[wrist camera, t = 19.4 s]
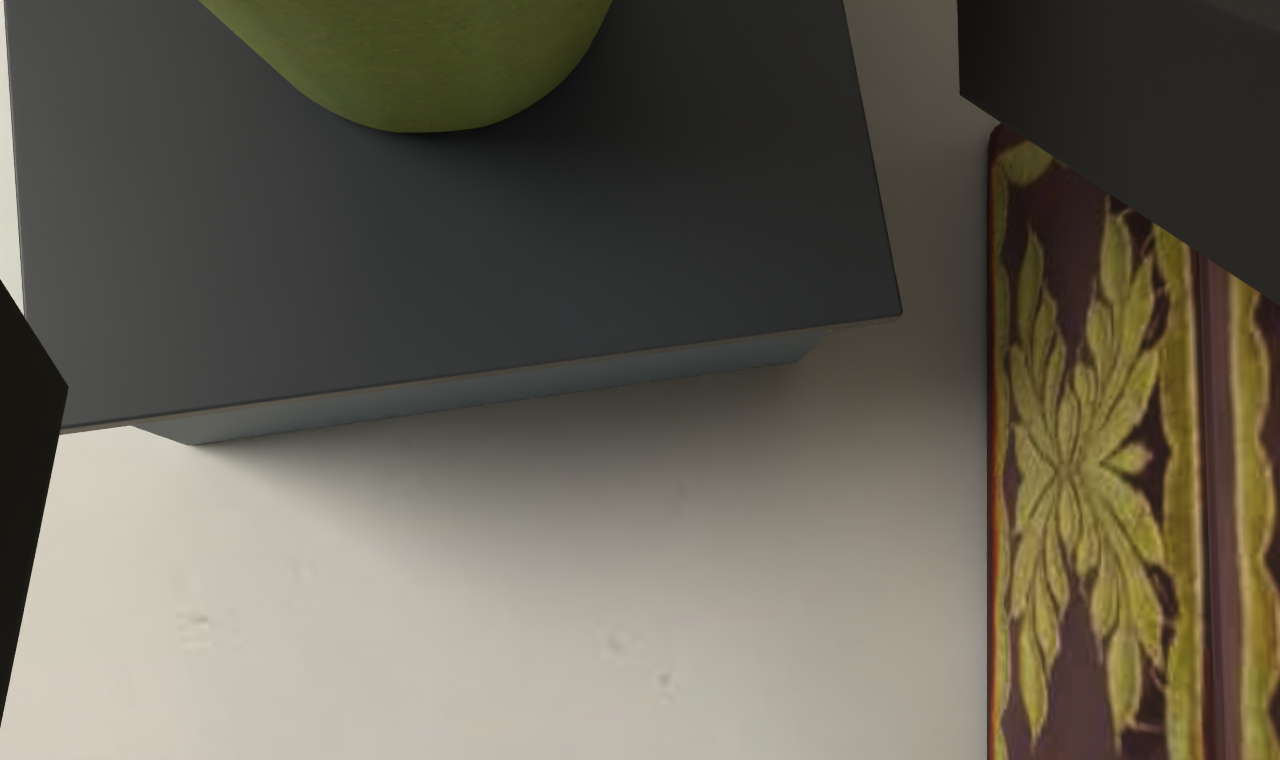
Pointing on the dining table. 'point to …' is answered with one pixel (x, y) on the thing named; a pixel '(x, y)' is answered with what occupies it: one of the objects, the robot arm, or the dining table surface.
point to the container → (432, 220)
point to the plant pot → (418, 54)
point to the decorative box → (1125, 482)
